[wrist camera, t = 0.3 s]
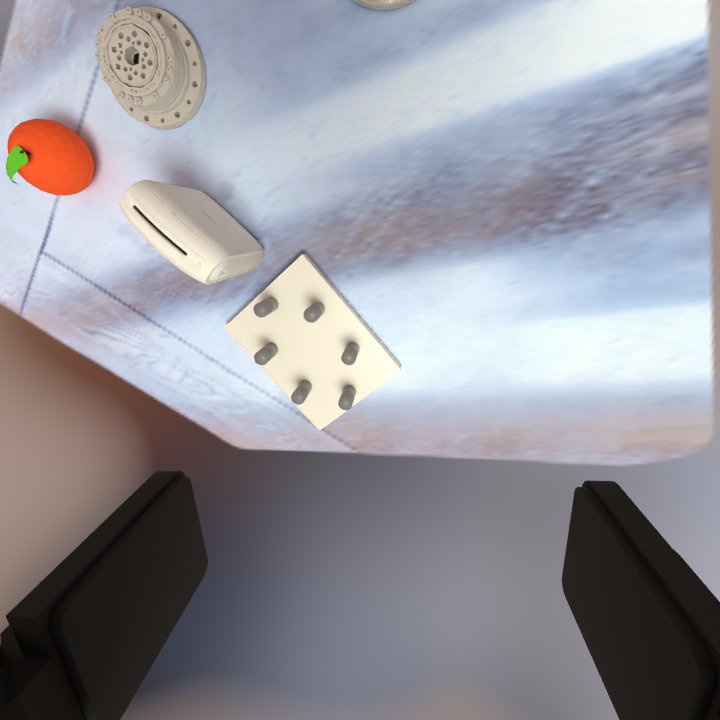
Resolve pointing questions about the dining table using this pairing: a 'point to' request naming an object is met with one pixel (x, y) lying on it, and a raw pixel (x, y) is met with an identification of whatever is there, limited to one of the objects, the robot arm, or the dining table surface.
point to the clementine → (49, 157)
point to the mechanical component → (152, 66)
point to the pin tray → (312, 343)
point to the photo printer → (191, 231)
